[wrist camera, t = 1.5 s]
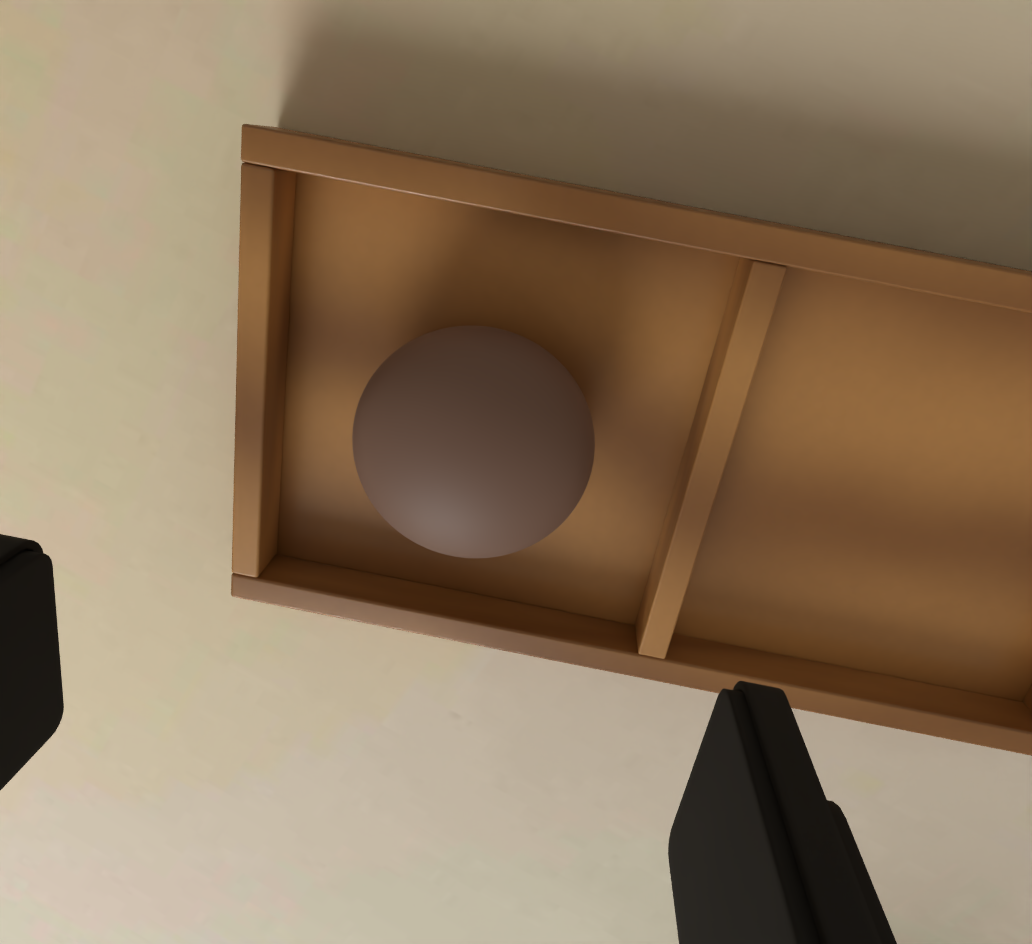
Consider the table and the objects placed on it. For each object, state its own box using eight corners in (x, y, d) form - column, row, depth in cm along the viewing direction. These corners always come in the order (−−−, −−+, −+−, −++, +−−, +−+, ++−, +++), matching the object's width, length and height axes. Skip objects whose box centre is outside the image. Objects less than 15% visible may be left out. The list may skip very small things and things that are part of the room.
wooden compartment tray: (275, 126, 18) (240, 123, 16) (1257, 314, 18) (1334, 332, 16) (257, 563, 23) (230, 597, 21) (1026, 715, 23) (1065, 763, 21)
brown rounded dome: (424, 540, 22) (391, 618, 18) (340, 353, 20) (284, 397, 16) (621, 484, 21) (629, 554, 17) (553, 278, 19) (544, 307, 15)
